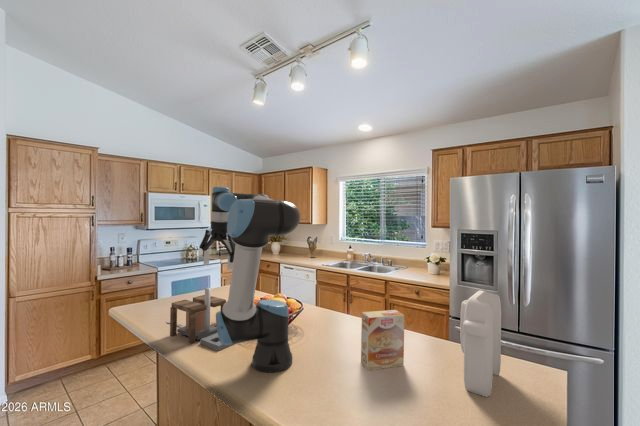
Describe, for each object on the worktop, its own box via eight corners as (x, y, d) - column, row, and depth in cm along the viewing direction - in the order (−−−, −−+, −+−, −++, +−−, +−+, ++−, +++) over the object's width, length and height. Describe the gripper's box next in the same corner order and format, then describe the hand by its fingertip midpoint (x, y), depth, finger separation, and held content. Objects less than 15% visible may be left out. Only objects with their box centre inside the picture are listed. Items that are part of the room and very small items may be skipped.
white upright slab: (470, 361, 121) (471, 284, 121) (503, 370, 114) (504, 289, 114) (449, 391, 100) (450, 299, 100) (487, 405, 93) (489, 305, 93)
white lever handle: (220, 331, 146) (221, 286, 146) (198, 340, 136) (199, 291, 136) (199, 324, 155) (200, 282, 155) (177, 332, 145) (177, 286, 145)
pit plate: (244, 339, 138) (244, 335, 139) (218, 350, 127) (218, 345, 127) (226, 333, 145) (226, 329, 145) (200, 343, 133) (200, 339, 133)
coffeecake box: (367, 371, 112) (368, 317, 112) (360, 362, 119) (360, 311, 119) (404, 366, 116) (405, 314, 116) (395, 357, 123) (395, 308, 123)
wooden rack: (229, 331, 148) (229, 300, 148) (193, 345, 132) (194, 310, 132) (184, 316, 167) (184, 289, 167) (149, 327, 151) (149, 296, 152)
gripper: (247, 223, 138) (245, 269, 140) (204, 217, 147) (202, 260, 149) (237, 224, 131) (235, 273, 133) (192, 218, 140) (190, 263, 143)
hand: (217, 266), depth 141 cm, fingers open, 13 cm apart
